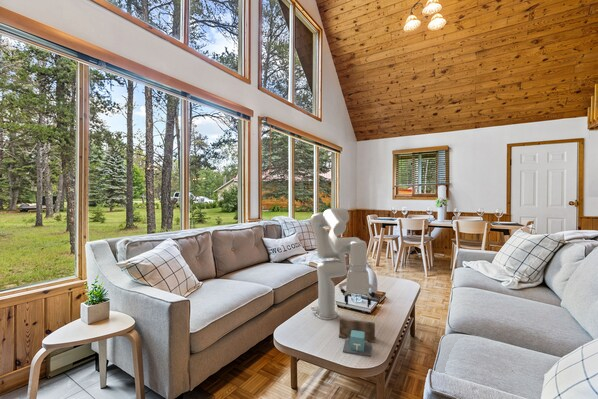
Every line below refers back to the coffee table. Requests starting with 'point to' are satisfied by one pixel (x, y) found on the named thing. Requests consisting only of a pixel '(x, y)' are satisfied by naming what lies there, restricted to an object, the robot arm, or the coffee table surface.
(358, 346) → the letter cube
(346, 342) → the mat
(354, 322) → the screen
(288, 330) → the coffee table surface
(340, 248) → the robot arm
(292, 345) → the coffee table surface
